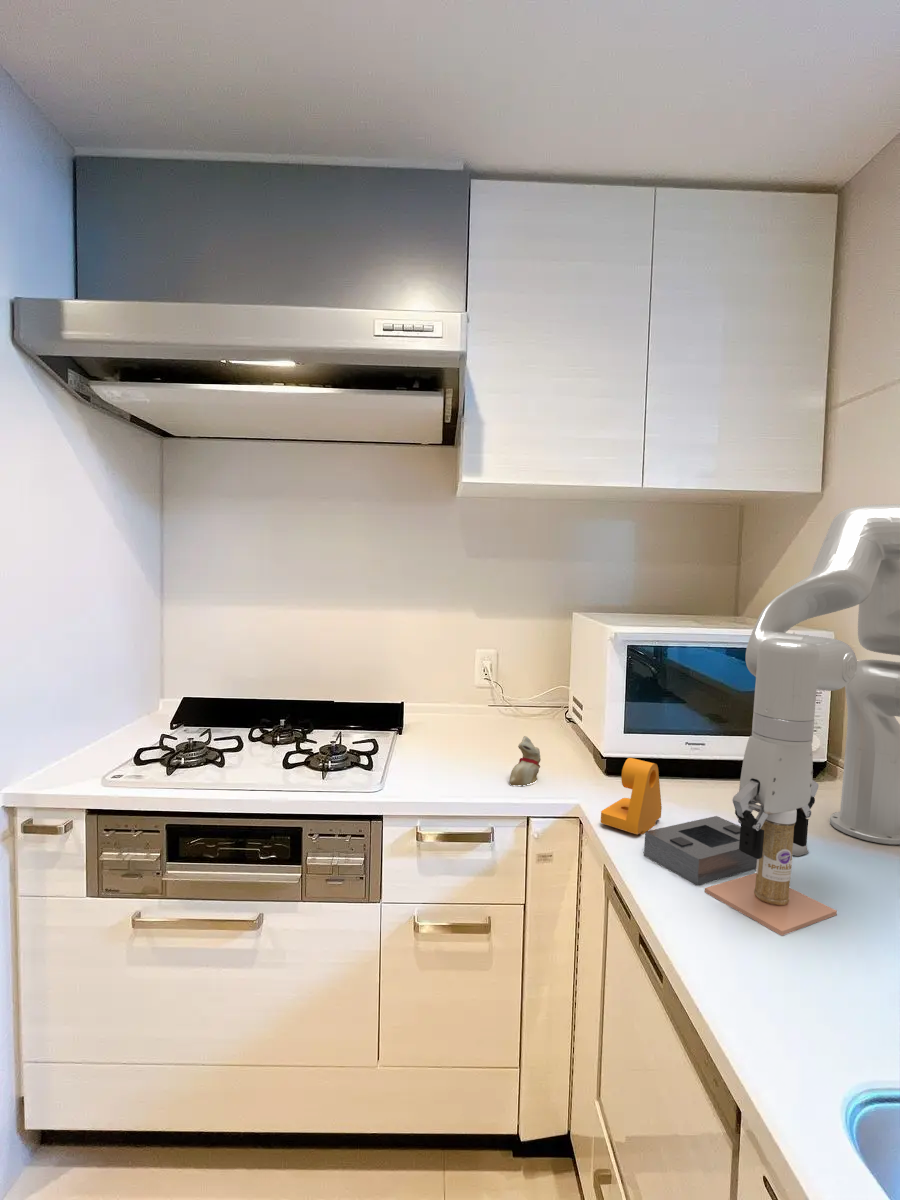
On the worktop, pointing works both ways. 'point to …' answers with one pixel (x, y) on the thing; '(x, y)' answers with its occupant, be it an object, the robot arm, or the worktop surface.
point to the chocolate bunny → (526, 764)
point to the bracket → (636, 799)
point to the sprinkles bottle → (776, 858)
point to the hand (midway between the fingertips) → (773, 848)
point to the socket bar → (699, 850)
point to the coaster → (770, 906)
